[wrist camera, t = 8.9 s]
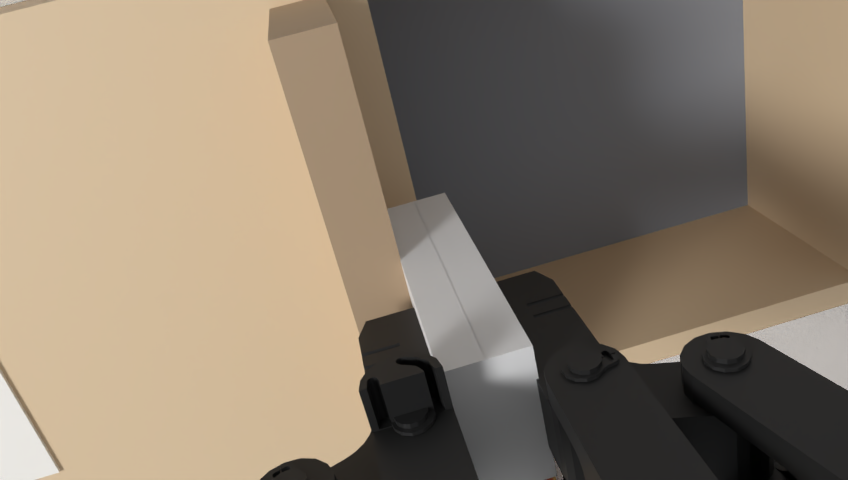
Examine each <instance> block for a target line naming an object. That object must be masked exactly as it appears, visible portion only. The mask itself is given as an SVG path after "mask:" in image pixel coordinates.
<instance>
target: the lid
mask: <svg viewBox="0 0 848 480" xmlns="http://www.w3.org/2000/svg"><path fill="white" fill-rule="evenodd" d="M413 201H417V200H416V196H415V192H414V188H413V184H412V180H411V176H410V171H409V167H408V163H407V159H406V155H405V151H404V147H403V143H402V139H401V135H400V131H399V127H398V123H397V119H396V115H395V111H394V106H393V102H392V98H391V94H390V90H389V86H388V82H387V78H386V74H385V70H384V66H383V62H382V58H381V54H380V50H379V46H378V42H377V37H376V33H375V29H374V25H373V21H372V17H371V13H370V9H369V5H368V1H367V0H49V1H45V2H41V3H37V4H33V5H29V6H25V7H21V8H17V9H13V10H9V11H5V12H1V13H0V480H260V479H261V478H262V477H263V476H264V475H265V474H266V473H267V472H268V471H270V470H272V469H274V468H275V467H277V466H279V465H281V464H283V463H285V462H288V461H292V460H296V459H299V458H316V459H318V460H320V461H323V462H325V463H327V464H328V465H329V466H330V467H332V466H334V465H335V464H337V463H339V462H341V461H342V460H344V459H346V458H347V457H349V456H350V455H351V454H353V453H354V452H356V451H357V450H358V449H359V448H360V447H361V446H362V445H363V444H364V442H365V441H366V439H367V438H368V436H369V435H370V433H371V428H370V424H369V421H368V418H367V415H366V412H365V409H364V406H363V403H362V400H361V397H360V394H359V385H360V380H361V378H362V377H363V376H364V374H365V371H364V366H363V361H362V355H361V350H360V345H359V339H358V338H359V335H360V333H361V331H362V329H363V327H364V324H365V322H366V321H369V320H372V319H376V318H379V317H382V316H386V315H389V314H393V313H396V312H400V311H403V310H407V309H410V308H413V306H412V302H411V299H410V295H409V291H408V287H407V284H406V280H405V276H404V272H403V269H402V265H401V261H400V260H401V259H400V255H399V252H398V248H397V244H396V241H395V237H394V233H393V229H392V226H391V222H390V218H389V214H388V211H387V209H388V208H392V207H395V206H399V205H402V204H406V203H410V202H413Z"/></svg>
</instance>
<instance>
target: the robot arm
mask: <svg viewBox="0 0 848 480" xmlns="http://www.w3.org/2000/svg"><path fill="white" fill-rule="evenodd" d="M387 211H388V214H389V218H390V222H391V226H392V229H393V233H394V237H395V241H396V244H397V248H398V252H399V255H400V259H401V260H400V261H401V265H402V269H403V272H404V276H405V280H406V284H407V287H408V291H409V295H410V299H411V302H412V306H413V308H410V309H407V310H403V311H400V312H396V313H393V314H389V315H386V316H382V317H379V318H376V319H372V320H369V321H366V322H365V324H364V327H363V329H362V331H361V333H360V335H359V338H358V339H359V345H360V350H361V355H362V361H363V366H364V371H365V374H364V376H363V377H362V378H361V380H360V385H359V394H360V397H361V400H362V403H363V406H364V409H365V412H366V415H367V418H368V421H369V424H370V428H371V433H370V435H369V436H368V438H367V439H366V441H365V442H364V444H363V445H362V446H361V447H360V448H359V449H358V450H357V451H356V452H354V453H353V454H351V455H350V456H349V457H347V458H346V459H344V460H342V461H341V462H339V463H337V464H335V465H334V466H332V467H330V466H329V465H328V464H327V463H325V462H323V461H320V460H318V459H316V458H299V459H296V460H292V461H288V462H285V463H283V464H281V465H279V466H277V467H275V468H274V469H272V470H270V471H268V472H267V473H266V474H265V475H264V476H263V477H262V478H261V479H260V480H546V479H549V478H552V477H555V476H557V473H556V468H555V463H554V458H555V460H556V462H557V464H558V466H559V468H560V470H561V472H562V474H563V479H564V480H848V390H846V389H844V388H842V387H841V386H839V385H837V384H835V383H834V382H832V381H830V380H829V379H827V378H825V377H823V376H822V375H820V374H818V373H816V372H815V371H813V370H811V369H809V368H808V367H806V366H804V365H802V364H801V363H799V362H797V361H795V360H794V359H792V358H790V357H788V356H787V355H785V354H783V353H782V352H780V351H778V350H776V349H775V348H773V347H771V346H769V345H768V344H766V343H764V342H762V341H761V340H759V339H756V338H754V337H751V336H749V335H746V334H742V333H735V332H728V331H724V332H712V333H707V334H704V335H701V336H698V337H695V338H694V339H692V340H691V341H690V342H688V343H687V344H686V345H684V347H683V350H682V352H681V354H680V362H672V363H658V364H639V363H633V362H629V361H628V360H627V359H626V357H625V356H624V355H623V354H621V353H620V352H619V351H618V350H616V349H615V348H612V347H609V346H606V345H603V344H599V342H598V341H597V340H596V338H595V337H594V335H593V334H592V333H591V331H590V330H589V329H588V327H587V326H586V324H585V323H584V322H583V320H582V319H581V318H580V316H579V315H578V313H577V312H576V311H575V309H574V308H573V307H571V304H570V302H569V301H568V300H567V298H566V297H565V296H564V295H563V293H562V291H561V290H560V289H559V287H558V286H557V285H556V283H555V282H554V280H553V279H551V278H548V277H546V276H544V275H542V274H540V273H538V272H536V271H532V272H528V273H525V274H521V275H518V276H514V277H511V278H507V279H504V280H501V281H497V282H496V281H495V279H494V277H493V276H492V274H491V272H490V270H489V269H488V267H487V265H486V263H485V262H484V260H483V258H482V256H481V255H480V253H479V251H478V250H477V248H476V246H475V244H474V243H473V241H472V239H471V237H470V236H469V234H468V232H467V230H466V229H465V227H464V225H463V223H462V222H461V220H460V218H459V216H458V215H457V213H456V211H455V209H454V208H453V206H452V204H451V203H450V201H449V199H448V197H447V196H446V194H445V193H442V194H438V195H435V196H431V197H427V198H424V199H420V200H417V201H413V202H410V203H406V204H402V205H399V206H395V207H392V208H388V209H387ZM553 456H554V457H553Z"/></svg>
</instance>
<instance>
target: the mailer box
mask: <svg viewBox="0 0 848 480" xmlns="http://www.w3.org/2000/svg"><path fill="white" fill-rule="evenodd" d="M45 1H49V0H26V1H22V2H18V3H15V4H11V5H7V6H3V7H0V13H1V12H5V11H9V10H13V9H17V8H21V7H25V6H29V5H33V4H37V3H41V2H45ZM367 1H368V5H369V9H370V13H371V17H372V21H373V25H374V29H375V33H376V37H377V42H378V46H379V50H380V54H381V58H382V62H383V66H384V70H385V74H386V78H387V82H388V86H389V90H390V94H391V98H392V102H393V106H394V111H395V115H396V119H397V123H398V127H399V131H400V135H401V139H402V143H403V147H404V151H405V155H406V159H407V163H408V167H409V171H410V176H411V180H412V184H413V188H414V192H415V196H416V200H420V199H424V198H427V197H431V196H435V195H438V194H442V193H445V194H446V196H447V197H448V199H449V201H450V203H451V204H452V206H453V208H454V209H455V211H456V213H457V215H458V216H459V218H460V220H461V222H462V223H463V225H464V227H465V229H466V230H467V232H468V234H469V236H470V237H471V239H472V241H473V243H474V244H475V246H476V248H477V250H478V251H479V253H480V255H481V256H482V258H483V260H484V262H485V263H486V265H487V267H488V269H489V270H490V272H491V274H492V276H493V277H494V279H495V281H496V282H497V281H501V280H504V279H507V278H511V277H514V276H518V275H521V274H525V273H528V272H532V271H536V272H538V273H540V274H542V275H544V276H546V277H548V278H551V279H553V280H554V282H555V283H556V285H557V286H558V287H559V289H560V290H561V291H562V293H563V295H564V296H565V297H566V298H567V300H568V301H569V302H570V304H571V307H573V308H574V309H575V311H576V312H577V313H578V315H579V316H580V318H581V319H582V320H583V322H584V323H585V324H586V326H587V327H588V329H589V330H590V331H591V333H592V334H593V335H594V337H595V338H596V340H597V341H598V342H599V344H603V345H606V346H609V347H612V348H615V349H616V350H618V351H619V352H620V353H621V354H623V355H624V356H625V357H626V359H627V360H628V361H629V362H633V363H639V364H649V363H652V362H655V361H659V360H662V359H665V358H669V357H672V356H675V355H679V354H681V352H682V350H683V347H684V345H686V344H687V343H688V342H690V341H691V340H692V339H694V338H695V337H698V336H701V335H704V334H707V333H712V332H724V331H728V332H735V333H742V334H748V333H752V332H755V331H758V330H762V329H765V328H768V327H771V326H775V325H778V324H781V323H785V322H788V321H791V320H795V319H798V318H801V317H805V316H808V315H811V314H815V313H818V312H821V311H824V310H828V309H831V308H834V307H838V306H841V305H844V304H848V0H367Z"/></svg>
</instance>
